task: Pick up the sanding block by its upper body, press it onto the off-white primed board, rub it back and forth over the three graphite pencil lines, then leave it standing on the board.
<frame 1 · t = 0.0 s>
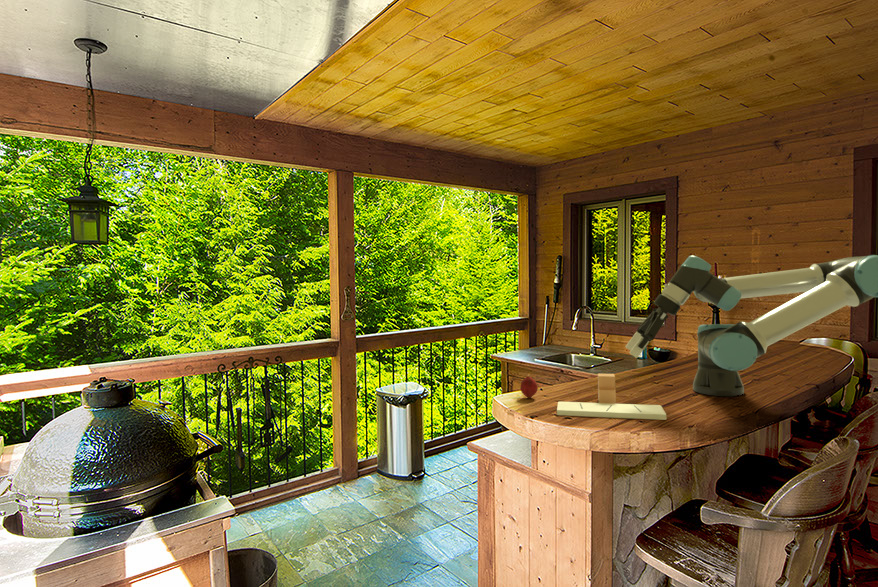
hand: (630, 352, 161), 15 cm above the table, tool tilted 35°, fingers open, 13 cm apart
board: (609, 412, 146), on the table
onion: (529, 398, 166), on the table
sanding block: (606, 402, 157), on the table
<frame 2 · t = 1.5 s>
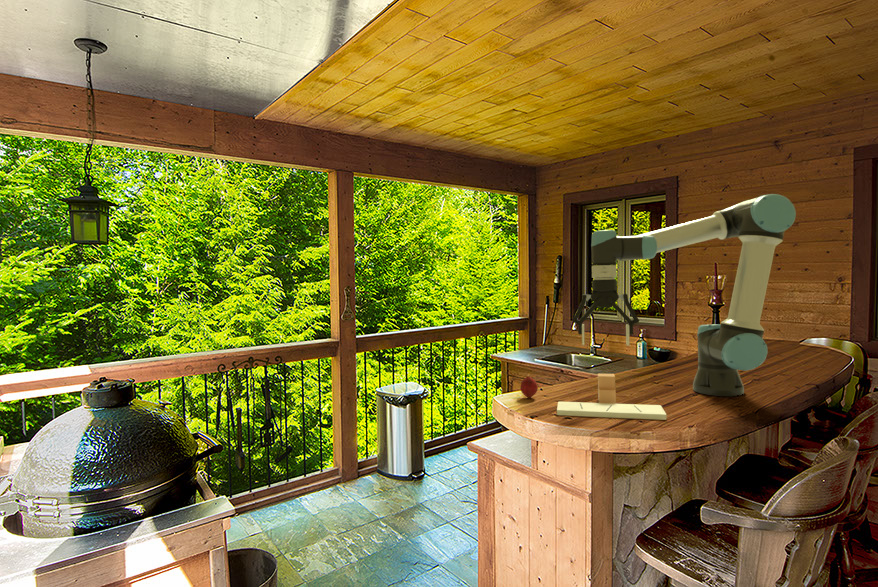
hand: (605, 344, 157), 19 cm above the table, tool pointing down, fingers open, 13 cm apart
nothing on the table moved.
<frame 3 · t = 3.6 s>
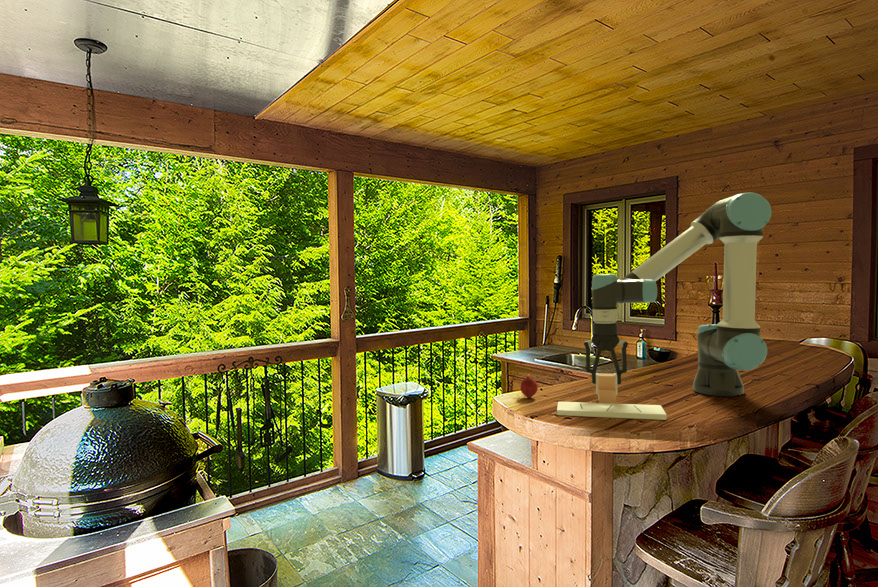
hand: (606, 393, 157), 3 cm above the table, tool pointing down, fingers closed on sanding block, 5 cm apart
sanding block: (606, 402, 157), on the table, touching gripper
everything else where it was.
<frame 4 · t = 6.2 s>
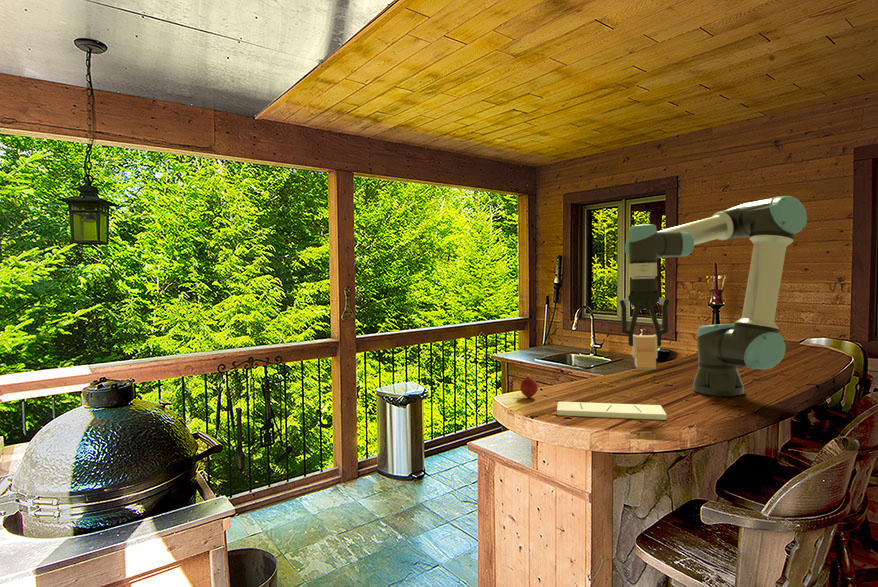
hand: (644, 357, 143), 17 cm above the table, tool pointing down, fingers closed on sanding block, 5 cm apart
sanding block: (645, 366, 143), point 14 cm above the table, touching gripper
everything else where it was.
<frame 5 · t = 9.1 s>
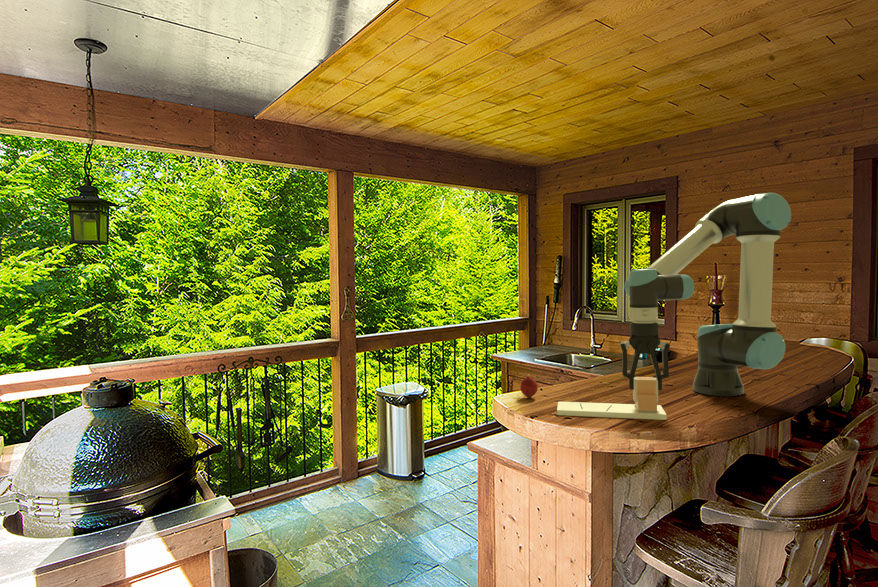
hand: (645, 400, 143), 4 cm above the table, tool pointing down, fingers closed on sanding block, 5 cm apart
sanding block: (645, 408, 143), point 2 cm above the table, touching gripper
everything else where it was.
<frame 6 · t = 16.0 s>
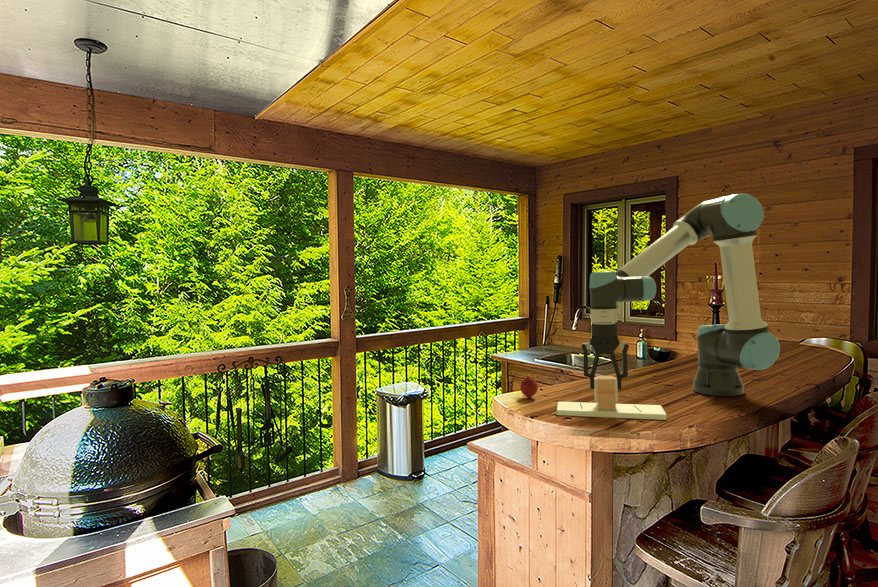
hand: (606, 399, 146), 4 cm above the table, tool pointing down, fingers closed on sanding block, 5 cm apart
sanding block: (606, 407, 146), point 2 cm above the table, touching gripper
everything else where it was.
when the fingers open (5 cm above the table, at t = 23.1 s): sanding block stays where it is, resting on board.
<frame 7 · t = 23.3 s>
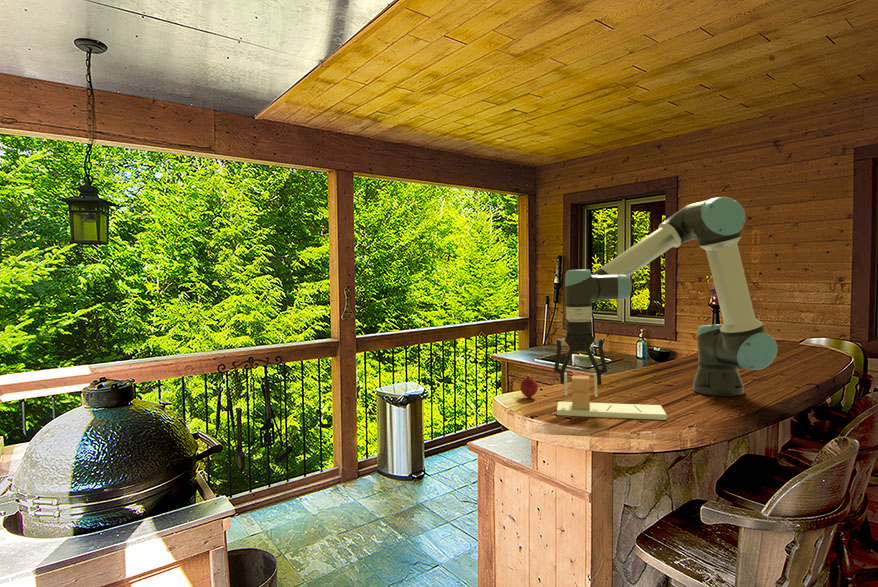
hand: (580, 395, 148), 5 cm above the table, tool pointing down, fingers open, 8 cm apart
sanding block: (581, 406, 148), point 2 cm above the table, touching board
everything else where it was.
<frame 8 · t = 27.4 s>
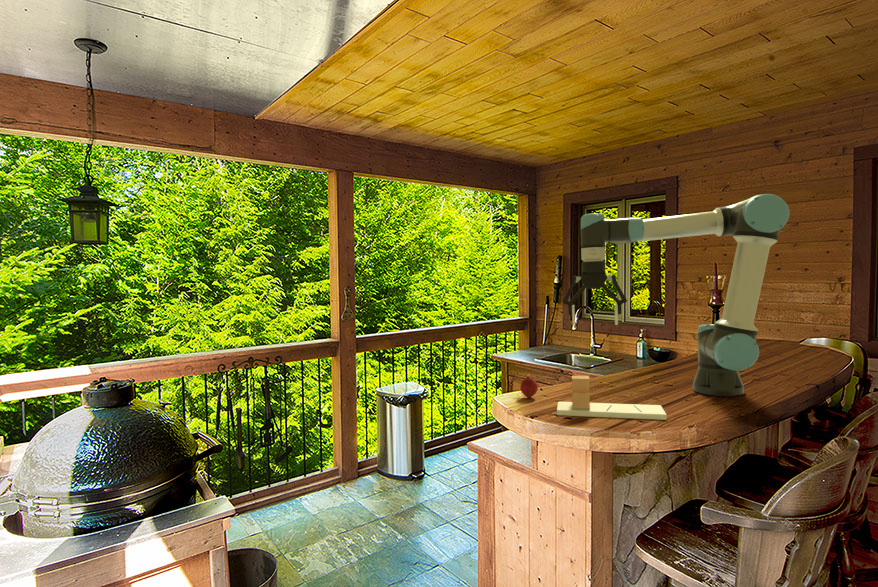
hand: (594, 324, 162), 25 cm above the table, tool pointing down, fingers open, 13 cm apart
nothing on the table moved.
at the end: sanding block inside the target area on the board (0.0 cm from its centre), point 1.5 cm above the board's base; sanding block touching board; sanding block tilted 0° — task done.
